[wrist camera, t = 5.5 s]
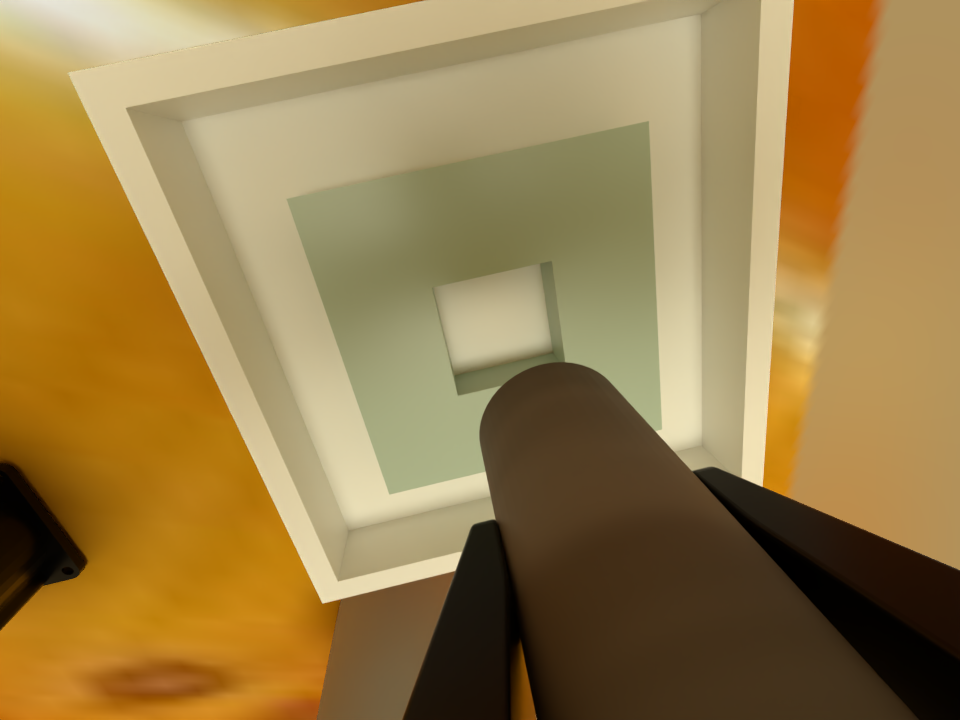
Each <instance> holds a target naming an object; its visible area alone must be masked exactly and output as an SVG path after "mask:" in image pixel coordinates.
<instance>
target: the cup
mask: <svg viewBox="0 0 960 720" xmlns="http://www.w3.org/2000/svg"><path fill="white" fill-rule="evenodd" d="M454 573H455V571H453V572H449V573H445V574H441V575H437V576H433V577H428V578H424V579H420V580H416V581H412V582H408V583H404V584H400V585H396V586H392V587H388V588H384V589H380V590H376V591H372V592H368V593H363V594H359V595H355V596H351V597H347V598H343V599H341V602H340V607H339V611H338V616H337V620H336V625H335V630H334V635H333V640H332V645H331V650H330V655H329V660H328V665H327V670H326V675H325V680H324V685H323V690H322V695H321V700H320V705H319V710H318V715H317V720H402V718H403V715H404V713H405V710H406V707H407V704H408V701H409V699H410V696H411V693H412V690H413V687H414V685H415V682H416V679H417V676H418V673H419V671H420V668H421V665H422V662H423V660H424V657H425V654H426V651H427V648H428V646H429V643H430V640H431V637H432V634H433V632H434V629H435V626H436V623H437V620H438V618H439V615H440V612H441V609H442V606H443V604H444V601H445V598H446V595H447V593H448V590H449V587H450V584H451V581H452V579H453V576H454Z"/></svg>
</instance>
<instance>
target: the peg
mask: <svg viewBox="0 0 960 720" xmlns="http://www.w3.org/2000/svg"><path fill="white" fill-rule="evenodd" d="M479 440H480V447H481V452H482V457H483V461H484V466H485V471H486V476H487V481H488V486H489V490H490V495H491V500H492V505H493V510H494V515H495V519H496V521H497V523H498V527H499V531H500V536H501V541H502V546H503V550H504V555H505V560H506V564H507V569H508V574H509V579H510V583H511V588H512V594H513V600H514V606H515V613H516V619H517V625H518V630H519V636H520V640H521V645H522V650H523V655H524V660H525V665H526V669H527V674H528V679H529V684H530V689H531V694H532V698H533V703H534V708H535V713H536V718H537V720H919V719H918V718H917V717H916V716H915V714H914V713H913V712H912V711H911V710H910V709H909V708H908V707H907V706H906V705H905V704H904V702H903V701H902V700H901V699H900V698H899V697H898V696H897V695H896V694H895V693H894V692H893V690H892V689H891V688H890V687H889V686H888V685H887V684H886V683H885V682H884V681H883V680H882V678H881V677H880V676H879V675H878V674H877V673H876V672H875V671H874V670H873V669H872V667H871V666H870V665H869V664H868V663H867V662H866V661H865V660H864V659H863V658H862V657H861V655H860V654H859V653H858V652H857V651H856V650H855V649H854V648H853V647H852V646H851V645H850V643H849V642H848V641H847V640H846V639H845V638H844V637H843V636H842V635H841V634H840V633H839V631H838V630H837V629H836V628H835V627H834V626H833V625H832V624H831V623H830V622H829V620H828V619H827V618H826V617H825V616H824V615H823V614H822V613H821V612H820V611H819V610H818V608H817V607H816V606H815V605H814V604H813V603H812V602H811V601H810V600H809V599H808V598H807V596H806V595H805V594H804V593H803V592H802V591H801V590H800V589H799V588H798V587H797V586H796V584H795V583H794V582H793V581H792V580H791V579H790V578H789V577H788V576H787V575H786V574H785V572H784V571H783V570H782V569H781V568H780V567H779V566H778V565H777V564H776V563H775V561H774V560H773V559H772V558H771V557H770V556H769V555H768V554H767V553H766V552H765V551H764V549H763V548H762V547H761V546H760V545H759V544H758V543H757V542H756V541H755V540H754V539H753V537H752V536H751V535H750V534H749V533H748V532H747V531H746V530H745V529H744V528H743V527H742V525H741V524H740V523H739V522H738V521H737V520H736V519H735V518H734V517H733V516H732V515H731V513H730V512H729V511H728V510H727V509H726V508H725V507H724V506H723V505H722V504H721V502H720V501H719V500H718V499H717V498H716V497H715V496H714V495H713V494H712V493H711V492H710V490H709V489H708V488H707V487H706V486H705V485H704V484H703V483H702V482H701V481H700V480H699V478H698V477H697V476H696V475H695V474H694V473H693V472H692V471H691V470H690V469H689V468H688V466H687V465H686V464H685V463H684V462H683V461H682V460H681V459H680V458H679V457H678V456H677V454H676V453H675V452H674V451H673V450H672V449H671V448H670V447H669V446H668V445H667V443H666V442H665V441H664V440H663V439H662V438H661V437H660V436H659V435H658V434H657V433H656V431H655V430H654V429H653V428H652V427H651V426H650V425H649V424H648V423H647V422H646V421H645V419H644V418H643V417H642V416H641V415H640V414H639V413H638V412H637V411H636V410H635V409H634V407H633V406H632V405H631V404H630V403H629V402H628V401H627V400H626V399H625V398H624V396H623V395H622V394H621V393H620V392H619V391H618V390H617V389H616V388H615V387H614V386H613V384H612V383H611V382H610V381H609V380H608V379H607V378H606V377H604V376H603V375H602V374H600V373H599V372H597V371H595V370H593V369H591V368H589V367H586V366H584V365H580V364H575V363H568V362H553V363H546V364H541V365H538V366H535V367H531V368H529V369H527V370H524V371H522V372H521V373H519V374H517V375H515V376H514V377H512V378H511V379H510V380H508V381H507V382H506V383H505V384H503V385H502V386H501V387H500V388H499V389H498V390H497V392H496V393H495V394H494V395H493V397H492V398H491V400H490V401H489V403H488V404H487V406H486V408H485V411H484V413H483V416H482V419H481V423H480V430H479Z"/></svg>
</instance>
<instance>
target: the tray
mask: <svg viewBox="0 0 960 720" xmlns="http://www.w3.org/2000/svg"><path fill="white" fill-rule="evenodd" d="M793 7H794V0H425V1H420V2H415V3H410V4H405V5H400V6H395V7H390V8H385V9H380V10H375V11H370V12H366V13H361V14H356V15H351V16H346V17H341V18H336V19H331V20H326V21H321V22H316V23H311V24H306V25H301V26H296V27H291V28H286V29H281V30H276V31H271V32H266V33H261V34H257V35H252V36H247V37H242V38H237V39H232V40H227V41H222V42H217V43H212V44H207V45H202V46H197V47H192V48H187V49H182V50H177V51H172V52H167V53H162V54H157V55H152V56H148V57H143V58H138V59H133V60H128V61H123V62H118V63H113V64H108V65H103V66H98V67H93V68H88V69H83V70H78V71H73V72H68V75H69V77H70V79H71V81H72V83H73V85H74V87H75V89H76V91H77V93H78V95H79V98H80V100H81V102H82V104H83V106H84V108H85V110H86V112H87V114H88V116H89V118H90V120H91V123H92V125H93V127H94V129H95V131H96V133H97V135H98V137H99V139H100V141H101V143H102V145H103V148H104V150H105V152H106V154H107V156H108V158H109V160H110V162H111V164H112V166H113V168H114V170H115V173H116V175H117V177H118V179H119V181H120V183H121V185H122V187H123V189H124V191H125V193H126V195H127V197H128V200H129V202H130V204H131V206H132V208H133V210H134V212H135V214H136V216H137V218H138V220H139V222H140V225H141V227H142V229H143V231H144V233H145V235H146V237H147V239H148V241H149V243H150V245H151V247H152V250H153V252H154V254H155V256H156V258H157V260H158V262H159V264H160V266H161V268H162V270H163V272H164V275H165V277H166V279H167V281H168V283H169V285H170V287H171V289H172V291H173V293H174V295H175V297H176V300H177V302H178V304H179V306H180V308H181V310H182V312H183V314H184V316H185V318H186V320H187V322H188V325H189V327H190V329H191V331H192V333H193V335H194V337H195V339H196V341H197V343H198V345H199V347H200V350H201V352H202V354H203V356H204V358H205V360H206V362H207V364H208V366H209V368H210V370H211V372H212V374H213V377H214V379H215V381H216V383H217V385H218V387H219V389H220V391H221V393H222V395H223V397H224V399H225V402H226V404H227V406H228V408H229V410H230V412H231V414H232V416H233V418H234V420H235V422H236V424H237V427H238V429H239V431H240V433H241V435H242V437H243V439H244V441H245V443H246V445H247V447H248V449H249V452H250V454H251V456H252V458H253V460H254V462H255V464H256V466H257V468H258V470H259V472H260V474H261V477H262V479H263V481H264V483H265V485H266V487H267V489H268V491H269V493H270V495H271V497H272V499H273V502H274V504H275V506H276V508H277V510H278V512H279V514H280V516H281V518H282V520H283V522H284V524H285V527H286V529H287V531H288V533H289V535H290V537H291V539H292V541H293V543H294V545H295V547H296V549H297V552H298V554H299V556H300V558H301V560H302V562H303V564H304V566H305V568H306V570H307V572H308V574H309V576H310V579H311V581H312V583H313V585H314V587H315V589H316V591H317V593H318V595H319V597H320V599H321V601H322V604H323V603H327V602H331V601H335V600H339V599H343V598H347V597H351V596H355V595H359V594H363V593H368V592H372V591H376V590H380V589H384V588H388V587H392V586H396V585H400V584H404V583H408V582H412V581H416V580H420V579H424V578H428V577H433V576H437V575H441V574H445V573H449V572H453V571H455V570H456V567H457V565H458V562H459V559H460V556H461V553H462V551H463V548H464V545H465V542H466V540H467V537H468V534H469V531H470V529H471V527H472V525H473V524H475V523H479V522H483V521H487V520H491V519H494V520H496V519H495V515H494V510H493V505H492V500H491V495H490V490H489V486H488V481H487V476H486V471H485V466H484V461H483V457H482V452H481V447H480V440H479V430H480V423H481V419H482V416H483V413H484V411H485V408H486V406H487V404H488V403H489V401H490V400H491V398H492V397H493V395H494V394H495V393H496V392H497V390H498V389H499V388H500V387H501V386H502V385H503V384H505V383H506V382H507V381H508V380H510V379H511V378H512V377H514V376H515V375H517V374H519V373H521V372H522V371H524V370H527V369H529V368H531V367H535V366H538V365H541V364H546V363H553V362H568V363H575V364H580V365H584V366H586V367H589V368H591V369H593V370H595V371H597V372H599V373H600V374H602V375H603V376H604V377H606V378H607V379H608V380H609V381H610V382H611V383H612V384H613V386H614V387H615V388H616V389H617V390H618V391H619V392H620V393H621V394H622V395H623V396H624V398H625V399H626V400H627V401H628V402H629V403H630V404H631V405H632V406H633V407H634V409H635V410H636V411H637V412H638V413H639V414H640V415H641V416H642V417H643V418H644V419H645V421H646V422H647V423H648V424H649V425H650V426H651V427H652V428H653V429H654V430H655V431H656V433H657V434H658V435H659V436H660V437H661V438H662V439H663V440H664V441H665V442H666V443H667V445H668V446H669V447H670V448H671V449H672V450H673V451H674V452H675V453H676V454H677V456H678V457H679V458H680V459H681V460H682V461H683V462H684V463H685V464H686V465H687V466H688V468H689V469H690V470H691V471H693V470H697V469H701V468H705V467H711V466H712V467H716V468H719V469H722V470H724V471H726V472H729V473H731V474H733V475H736V476H738V477H740V478H743V479H745V480H748V481H750V482H752V483H755V484H757V485H759V486H762V487H763V472H764V456H765V441H766V425H767V410H768V394H769V379H770V363H771V348H772V332H773V317H774V301H775V286H776V270H777V255H778V239H779V224H780V208H781V193H782V177H783V162H784V146H785V131H786V115H787V100H788V84H789V69H790V53H791V38H792V22H793Z"/></svg>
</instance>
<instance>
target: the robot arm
mask: <svg viewBox="0 0 960 720" xmlns="http://www.w3.org/2000/svg"><path fill="white" fill-rule="evenodd" d="M692 472H693V473H694V474H695V475H696V476H697V477H698V478H699V480H700V481H701V482H702V483H703V484H704V485H705V486H706V487H707V488H708V489H709V490H710V492H711V493H712V494H713V495H714V496H715V497H716V498H717V499H718V500H719V501H720V502H721V504H722V505H723V506H724V507H725V508H726V509H727V510H728V511H729V512H730V513H731V515H732V516H733V517H734V518H735V519H736V520H737V521H738V522H739V523H740V524H741V525H742V527H743V528H744V529H745V530H746V531H747V532H748V533H749V534H750V535H751V536H752V537H753V539H754V540H755V541H756V542H757V543H758V544H759V545H760V546H761V547H762V548H763V549H764V551H765V552H766V553H767V554H768V555H769V556H770V557H771V558H772V559H773V560H774V561H775V563H776V564H777V565H778V566H779V567H780V568H781V569H782V570H783V571H784V572H785V574H786V575H787V576H788V577H789V578H790V579H791V580H792V581H793V582H794V583H795V584H796V586H797V587H798V588H799V589H800V590H801V591H802V592H803V593H804V594H805V595H806V596H807V598H808V599H809V600H810V601H811V602H812V603H813V604H814V605H815V606H816V607H817V608H818V610H819V611H820V612H821V613H822V614H823V615H824V616H825V617H826V618H827V619H828V620H829V622H830V623H831V624H832V625H833V626H834V627H835V628H836V629H837V630H838V631H839V633H840V634H841V635H842V636H843V637H844V638H845V639H846V640H847V641H848V642H849V643H850V645H851V646H852V647H853V648H854V649H855V650H856V651H857V652H858V653H859V654H860V655H861V657H862V658H863V659H864V660H865V661H866V662H867V663H868V664H869V665H870V666H871V667H872V669H873V670H874V671H875V672H876V673H877V674H878V675H879V676H880V677H881V678H882V680H883V681H884V682H885V683H886V684H887V685H888V686H889V687H890V688H891V689H892V690H893V692H894V693H895V694H896V695H897V696H898V697H899V698H900V699H901V700H902V701H903V702H904V704H905V705H906V706H907V707H908V708H909V709H910V710H911V711H912V712H913V713H914V714H915V716H916V717H917V718H918V719H919V720H960V570H958V569H956V568H953V567H951V566H948V565H946V564H944V563H941V562H939V561H937V560H934V559H932V558H929V557H927V556H925V555H922V554H920V553H918V552H915V551H913V550H911V549H908V548H906V547H903V546H901V545H899V544H896V543H894V542H892V541H889V540H887V539H884V538H882V537H880V536H877V535H875V534H873V533H870V532H868V531H866V530H863V529H861V528H859V527H856V526H854V525H852V524H849V523H847V522H844V521H842V520H839V519H837V518H835V517H833V516H830V515H828V514H825V513H823V512H821V511H818V510H816V509H814V508H811V507H809V506H807V505H804V504H802V503H799V502H797V501H795V500H792V499H790V498H788V497H785V496H783V495H781V494H778V493H776V492H774V491H771V490H769V489H766V488H764V487H762V486H759V485H757V484H755V483H752V482H750V481H748V480H745V479H743V478H740V477H738V476H736V475H733V474H731V473H729V472H726V471H724V470H722V469H719V468H716V467H712V466H711V467H705V468H701V469H697V470H693V471H692ZM0 475H1V476H2V477H1V476H0V631H1V630H2V628H3V627H4V626H5V625H6V624H7V623H8V622H9V621H10V620H11V619H12V618H13V617H14V616H15V615H16V614H17V613H18V611H19V610H20V609H21V608H22V607H23V606H24V605H25V604H26V603H27V602H28V601H29V600H30V599H31V598H32V597H33V595H34V594H35V593H36V592H37V591H38V590H39V589H40V588H41V587H42V586H44V585H48V584H52V583H56V582H61V581H65V580H69V579H73V578H76V577H77V576H78V575H79V574H80V573H81V572H82V571H83V570H84V568H85V563H84V561H83V560H82V558H81V557H80V556H79V554H78V553H77V551H76V550H75V549H74V547H73V546H72V545H71V543H70V542H69V541H68V539H67V538H66V537H65V535H64V534H63V533H62V531H61V530H60V529H59V527H58V526H57V525H56V523H55V522H54V520H53V519H52V518H51V516H50V515H49V514H48V512H47V511H46V510H45V508H44V507H43V506H42V504H41V503H40V502H39V500H38V499H37V498H36V496H35V495H34V493H33V492H32V491H31V489H30V488H29V487H28V485H27V484H26V483H25V481H24V480H23V479H22V477H21V476H20V475H19V473H18V472H17V471H16V470H15V469H14V468H13V467H12V466H10V465H8V464H4V463H0ZM402 720H536V713H535V708H534V703H533V698H532V694H531V689H530V684H529V679H528V674H527V669H526V665H525V660H524V655H523V650H522V645H521V640H520V636H519V630H518V625H517V619H516V613H515V606H514V600H513V594H512V588H511V583H510V579H509V574H508V569H507V564H506V560H505V555H504V550H503V546H502V541H501V536H500V531H499V527H498V523H497V521H496V520H494V519H491V520H487V521H483V522H479V523H475V524H473V525H472V527H471V529H470V531H469V534H468V537H467V540H466V542H465V545H464V548H463V551H462V553H461V556H460V559H459V562H458V565H457V567H456V570H455V573H454V576H453V579H452V581H451V584H450V587H449V590H448V593H447V595H446V598H445V601H444V604H443V606H442V609H441V612H440V615H439V618H438V620H437V623H436V626H435V629H434V632H433V634H432V637H431V640H430V643H429V646H428V648H427V651H426V654H425V657H424V660H423V662H422V665H421V668H420V671H419V673H418V676H417V679H416V682H415V685H414V687H413V690H412V693H411V696H410V699H409V701H408V704H407V707H406V710H405V713H404V715H403V718H402Z"/></svg>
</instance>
